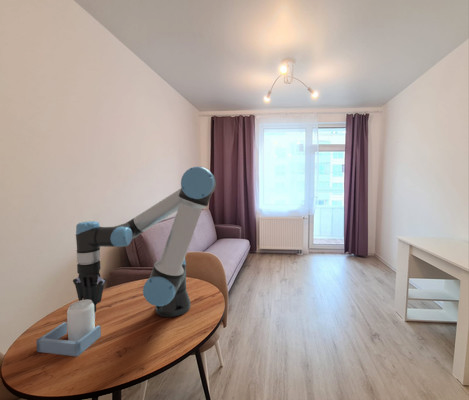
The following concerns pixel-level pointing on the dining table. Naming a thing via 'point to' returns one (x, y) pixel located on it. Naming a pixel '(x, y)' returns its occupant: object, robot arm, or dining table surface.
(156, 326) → the dining table surface
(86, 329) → the beverage can
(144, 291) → the robot arm
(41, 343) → the corral
